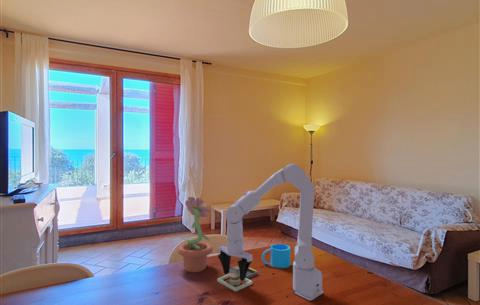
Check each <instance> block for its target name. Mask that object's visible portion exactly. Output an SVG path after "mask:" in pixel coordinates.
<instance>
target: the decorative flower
mask: <svg viewBox="0 0 480 305" xmlns="http://www.w3.org/2000/svg"><path fill="white" fill-rule="evenodd" d="M204 203H205V201H204V200H203V199H202V198H200V197H195V196H189V197H187V200H185V206H186V208H187V210H188V211H189V212H190V214H191V215H192V216H194V222H193V223H192V225H191V229H194V228H195V229H196V232H197V234H198V236H197V237H195V238H189V239H187V242H184V243H183V244H181V245H179V246H178V249H177V252H178V254H179V255H180V256H182V257H183V268H184V270H185V271H186V272H188V273H199V272H202V271H205V270H206V267H207V261H208V256H209V255H210V254H212V253H213V246H212V244H210V243H208V242H204V241H202V239H204V240H206V241H209V242H210V239H209V238H208V237H207V236H206V235H205V234H203V230H202V227H201V223H200V218H203V217H204V218H207V217H208V216H209V213H210V212H211V210H210V209H211V208H209V207H207V206H202V205H203V204H204ZM183 241H186V238H185V239H184V238H183Z"/></svg>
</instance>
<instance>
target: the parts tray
mask: <svg viewBox="0 0 480 305" xmlns="http://www.w3.org/2000/svg"><path fill="white" fill-rule="evenodd" d="M229 275H230V273H228V274H226V275H225V274H224V275H223V276H220V277H217V279H216V280H217V282H218V283H219V284H221V285H223V286H225V287H226V288H228V289H230V290H232V291H233V292H238V291H240V290H242V289H244V288H247V287H249V286H252V285H253V280H251V279H250V278H249V279H247V278H245V279H244V280H243V281H244V283H243V284H239V285H236V286H235V285H231V284H230V283H229V282H227V281H225V280H226V279H230V278H229ZM243 281H242V282H243Z"/></svg>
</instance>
